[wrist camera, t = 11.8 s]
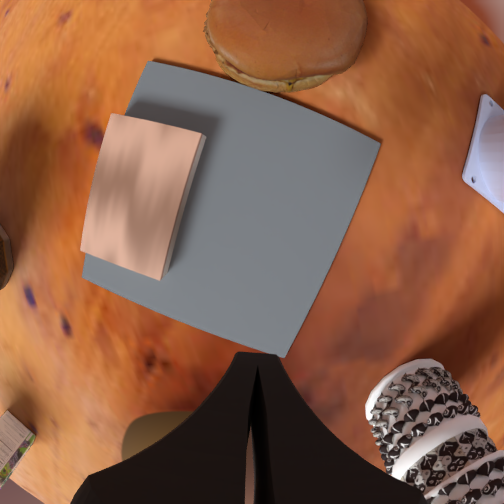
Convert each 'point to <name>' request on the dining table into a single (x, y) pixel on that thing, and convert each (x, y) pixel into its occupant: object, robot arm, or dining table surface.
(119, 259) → the tile
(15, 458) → the syrup box
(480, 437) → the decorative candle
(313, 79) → the burger
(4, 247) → the ceramic cup
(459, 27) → the dining table surface
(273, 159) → the mat
